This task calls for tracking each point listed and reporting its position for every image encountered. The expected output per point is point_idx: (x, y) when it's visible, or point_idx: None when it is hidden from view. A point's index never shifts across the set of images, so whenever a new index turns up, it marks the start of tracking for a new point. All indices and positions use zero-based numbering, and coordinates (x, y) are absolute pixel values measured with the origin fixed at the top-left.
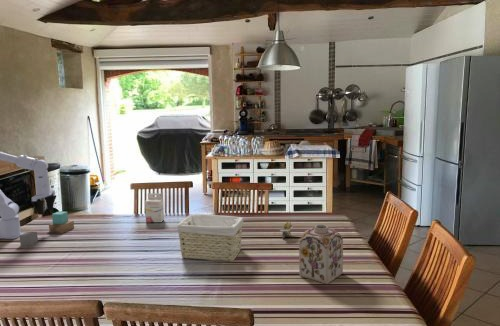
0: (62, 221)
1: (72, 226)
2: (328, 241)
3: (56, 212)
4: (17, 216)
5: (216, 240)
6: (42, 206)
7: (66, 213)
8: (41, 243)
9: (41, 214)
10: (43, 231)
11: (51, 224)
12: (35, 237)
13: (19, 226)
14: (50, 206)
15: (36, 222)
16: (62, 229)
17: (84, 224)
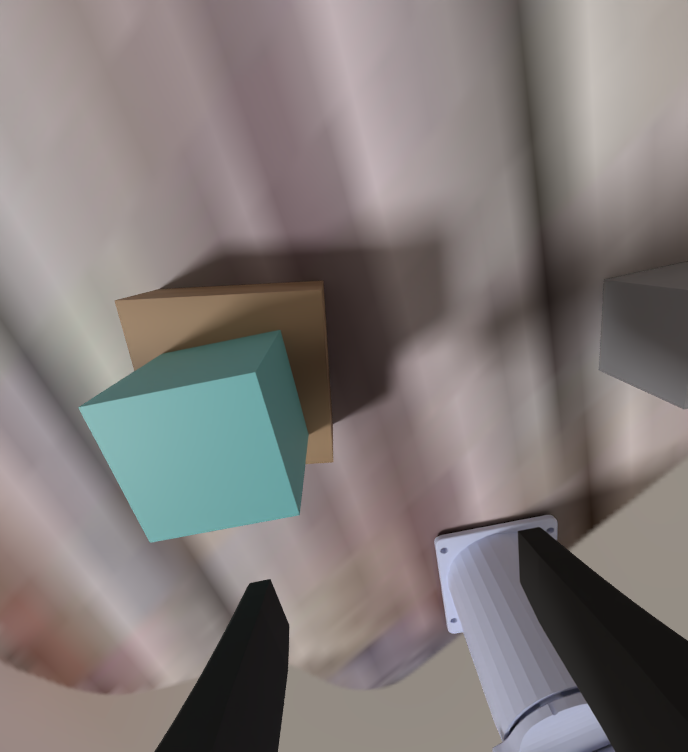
0: (261, 340)
1: (171, 291)
2: None
3: (202, 525)
4: (562, 720)
5: None
6: (678, 683)
7: (120, 391)
8: (633, 218)
9: (542, 530)
10: (348, 467)
11: (328, 433)
12: (682, 279)
13: (508, 598)
14: (261, 670)
15: (209, 653)
16: (318, 283)
17: (18, 275)
